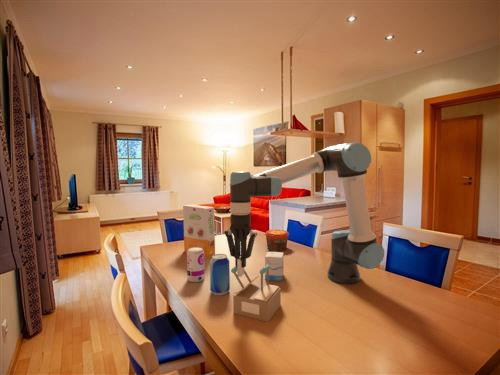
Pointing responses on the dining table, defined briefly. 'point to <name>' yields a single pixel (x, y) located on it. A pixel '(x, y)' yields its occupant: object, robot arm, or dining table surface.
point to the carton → (256, 303)
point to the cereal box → (199, 228)
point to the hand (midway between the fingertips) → (240, 275)
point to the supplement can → (195, 264)
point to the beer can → (219, 274)
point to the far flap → (240, 281)
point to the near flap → (268, 289)
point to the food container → (277, 239)
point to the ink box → (274, 265)
